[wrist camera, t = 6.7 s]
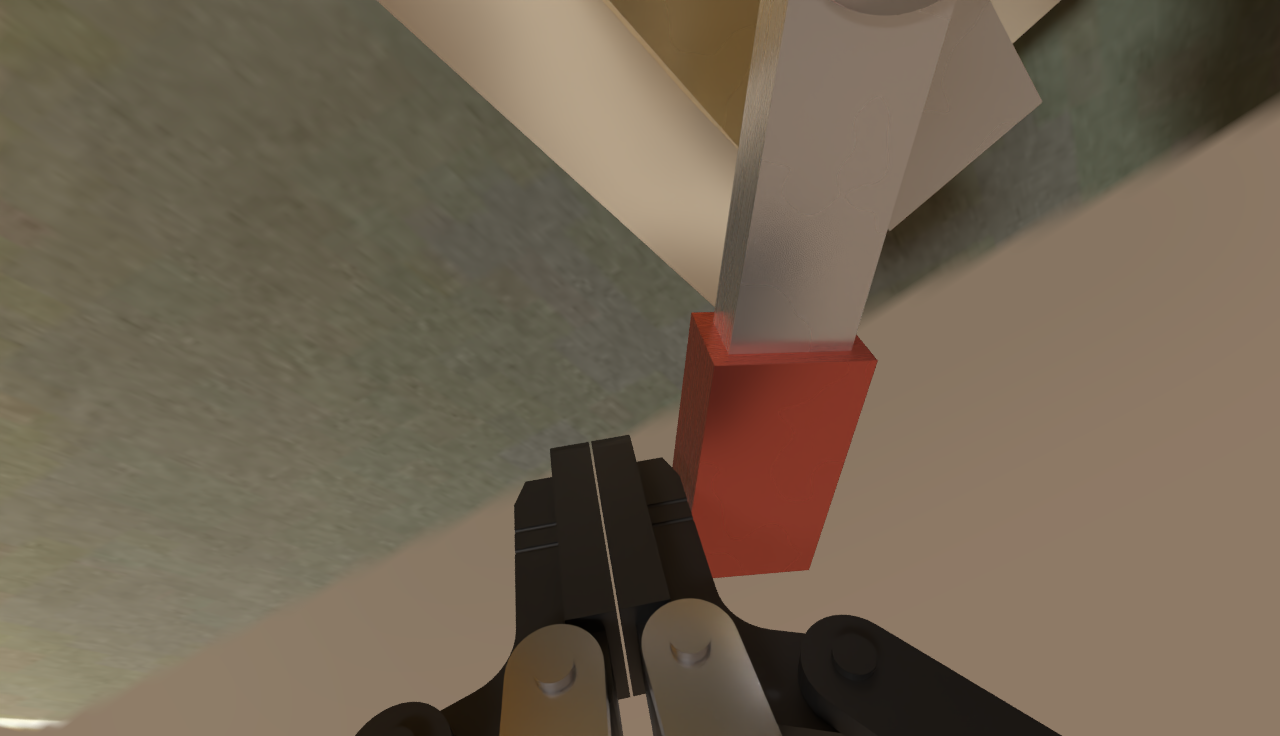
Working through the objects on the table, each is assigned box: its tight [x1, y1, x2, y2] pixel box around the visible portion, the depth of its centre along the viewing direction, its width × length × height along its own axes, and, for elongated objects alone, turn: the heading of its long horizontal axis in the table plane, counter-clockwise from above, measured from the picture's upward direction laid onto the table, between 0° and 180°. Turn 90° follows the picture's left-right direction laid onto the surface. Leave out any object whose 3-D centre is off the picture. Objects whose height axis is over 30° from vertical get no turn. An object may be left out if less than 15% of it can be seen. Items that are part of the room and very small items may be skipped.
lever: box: [672, 0, 956, 578], centre depth 9 cm, size 12×3×2 cm, turn 177°
